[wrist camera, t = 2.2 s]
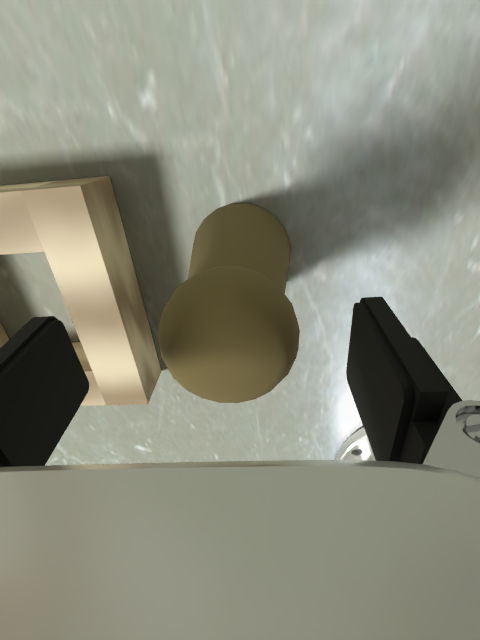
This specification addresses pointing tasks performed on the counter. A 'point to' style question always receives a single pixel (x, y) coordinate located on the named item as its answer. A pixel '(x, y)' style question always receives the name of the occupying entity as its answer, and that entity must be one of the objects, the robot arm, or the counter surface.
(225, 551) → the robot arm
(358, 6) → the counter surface
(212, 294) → the cork
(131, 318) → the socket block
